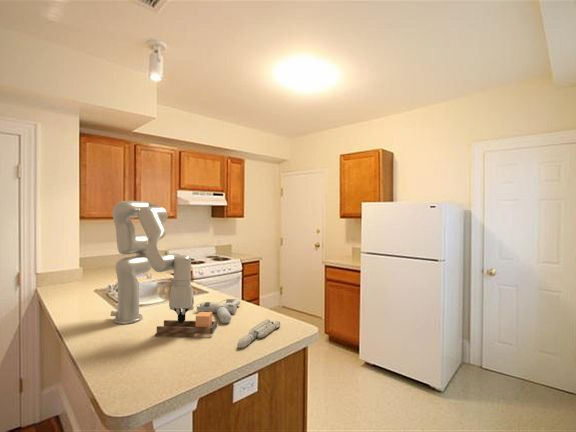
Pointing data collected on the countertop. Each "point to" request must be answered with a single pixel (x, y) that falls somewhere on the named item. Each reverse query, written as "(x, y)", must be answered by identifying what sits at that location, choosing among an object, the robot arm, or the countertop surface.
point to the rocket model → (258, 332)
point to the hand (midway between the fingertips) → (181, 322)
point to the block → (204, 319)
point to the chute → (185, 329)
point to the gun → (221, 309)
